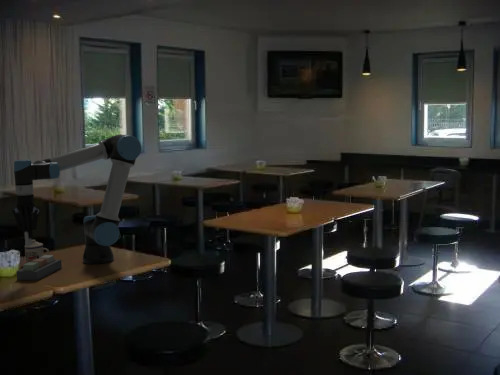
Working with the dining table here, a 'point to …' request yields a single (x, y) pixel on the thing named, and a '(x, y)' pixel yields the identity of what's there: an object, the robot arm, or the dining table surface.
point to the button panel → (39, 271)
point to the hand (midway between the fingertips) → (28, 245)
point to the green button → (31, 266)
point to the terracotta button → (41, 262)
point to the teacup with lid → (34, 251)
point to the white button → (48, 258)
